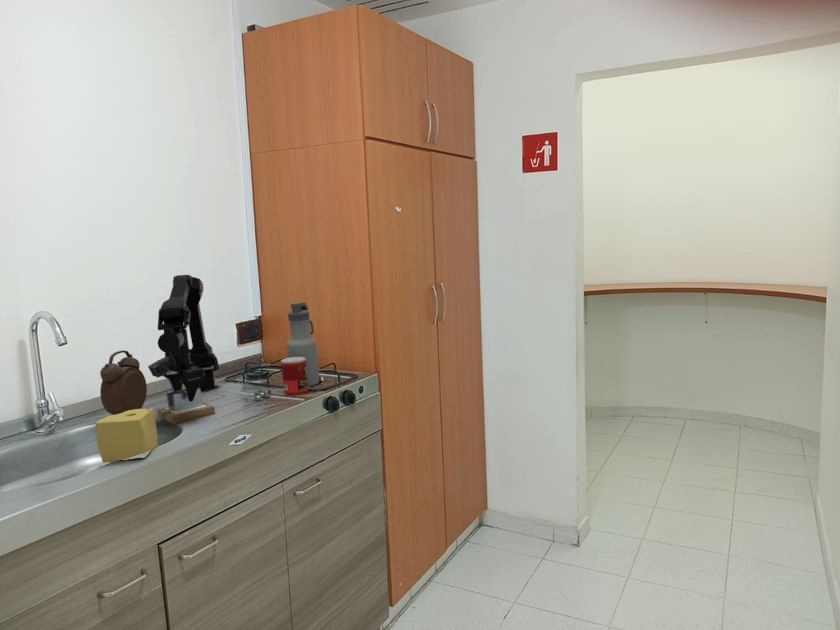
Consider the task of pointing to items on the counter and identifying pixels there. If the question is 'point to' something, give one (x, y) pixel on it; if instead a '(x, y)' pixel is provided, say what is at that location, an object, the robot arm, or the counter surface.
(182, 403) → the housing
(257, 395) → the loose bolts
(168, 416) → the picture frame
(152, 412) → the cheese
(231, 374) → the counter surface
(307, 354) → the water bottle
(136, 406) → the alarm clock
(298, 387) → the canned food
